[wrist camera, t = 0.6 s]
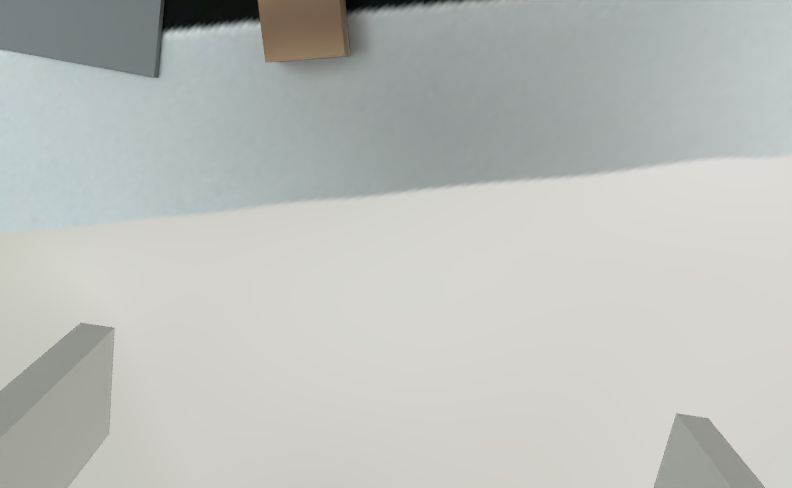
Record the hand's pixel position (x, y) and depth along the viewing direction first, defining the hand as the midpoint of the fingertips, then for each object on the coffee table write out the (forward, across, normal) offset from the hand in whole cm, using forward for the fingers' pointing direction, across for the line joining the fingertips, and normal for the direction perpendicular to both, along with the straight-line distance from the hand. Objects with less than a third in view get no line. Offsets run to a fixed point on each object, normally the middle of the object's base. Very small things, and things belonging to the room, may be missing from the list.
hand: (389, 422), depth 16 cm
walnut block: (+26, -6, +9) cm, 28 cm away
